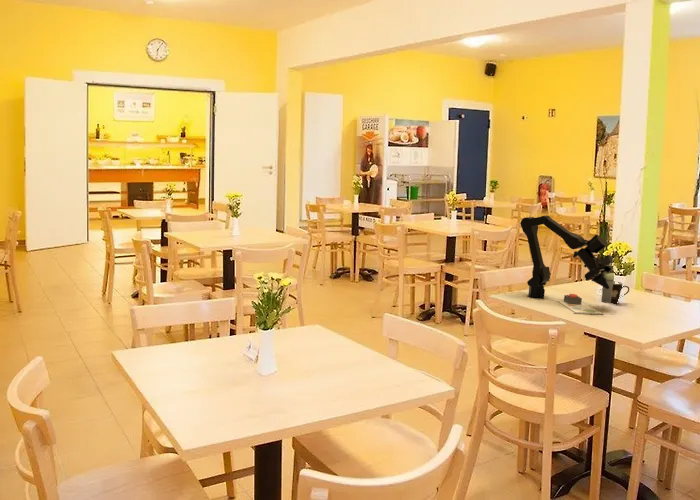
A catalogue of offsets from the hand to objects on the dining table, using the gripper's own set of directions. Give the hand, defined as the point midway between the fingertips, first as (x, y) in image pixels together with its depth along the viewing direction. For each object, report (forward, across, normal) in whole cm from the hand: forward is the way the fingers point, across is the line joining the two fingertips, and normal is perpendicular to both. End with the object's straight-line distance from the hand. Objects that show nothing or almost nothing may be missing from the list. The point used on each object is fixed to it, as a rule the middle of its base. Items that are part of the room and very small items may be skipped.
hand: (610, 287), depth 315 cm
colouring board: (-1, -3, +17) cm, 17 cm away
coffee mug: (+4, +22, +12) cm, 25 cm away
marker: (+4, 0, +6) cm, 7 cm away
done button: (-7, +3, +19) cm, 20 cm away
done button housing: (-5, +3, +20) cm, 21 cm away
